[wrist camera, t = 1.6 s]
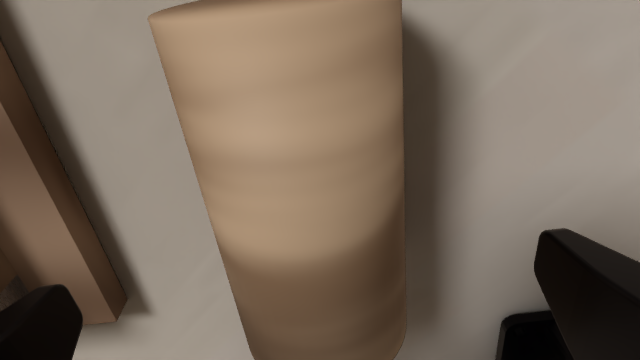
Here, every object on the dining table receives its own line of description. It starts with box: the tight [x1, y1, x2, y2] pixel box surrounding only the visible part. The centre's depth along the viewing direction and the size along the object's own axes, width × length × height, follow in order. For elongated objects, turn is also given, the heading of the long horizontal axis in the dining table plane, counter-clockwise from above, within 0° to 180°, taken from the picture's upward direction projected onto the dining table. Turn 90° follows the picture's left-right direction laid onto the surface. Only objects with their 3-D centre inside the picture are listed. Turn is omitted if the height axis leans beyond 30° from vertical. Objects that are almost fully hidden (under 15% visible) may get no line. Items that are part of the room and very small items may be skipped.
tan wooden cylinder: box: [148, 0, 406, 360], centre depth 10 cm, size 9×5×5 cm, turn 7°
